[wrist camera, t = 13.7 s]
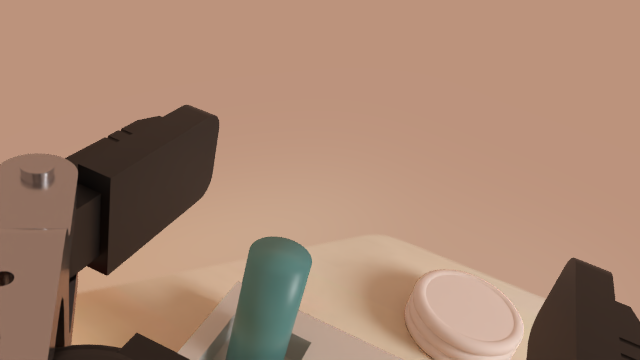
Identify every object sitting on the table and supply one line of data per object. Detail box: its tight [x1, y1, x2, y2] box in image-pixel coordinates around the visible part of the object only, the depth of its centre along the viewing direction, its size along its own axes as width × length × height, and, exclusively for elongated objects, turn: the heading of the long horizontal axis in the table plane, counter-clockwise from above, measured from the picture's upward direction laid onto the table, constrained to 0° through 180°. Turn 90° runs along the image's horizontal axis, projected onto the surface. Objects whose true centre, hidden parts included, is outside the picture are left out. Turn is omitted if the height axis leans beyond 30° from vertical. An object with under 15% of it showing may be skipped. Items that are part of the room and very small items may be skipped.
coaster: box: [405, 269, 524, 360], centre depth 51 cm, size 10×10×4 cm
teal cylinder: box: [225, 237, 312, 360], centre depth 39 cm, size 4×4×11 cm
